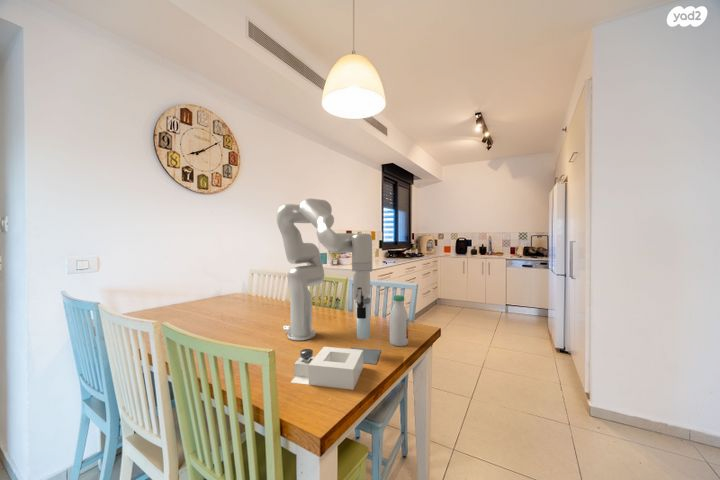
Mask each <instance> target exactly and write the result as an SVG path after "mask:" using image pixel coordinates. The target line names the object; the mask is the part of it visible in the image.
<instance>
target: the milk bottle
mask: <svg viewBox="0 0 720 480" xmlns="http://www.w3.org/2000/svg"><path fill="white" fill-rule="evenodd" d="M392 302H393V305H392V309H391V310H390V313H389V343H390V345H391V346H393V347H405V346H407V345H408V344H409V315H408V312H407V309H406V307H405V296H403V295H398V294H397V295H393V297H392Z"/></svg>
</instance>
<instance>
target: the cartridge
mask: <svg viewBox="0 0 720 480" xmlns="http://www.w3.org/2000/svg"><path fill="white" fill-rule="evenodd" d="M361 299H364V297H361ZM354 300H355V304H356V305H355V308H356V311H355V313H356V338H357V339H359V340H368V339H370V338H371V306H370V305H371V301H372V300H371V298H370V297H369V296H368V297H367V298H366V299H365V307H366V318H365V319H360V318H357V298H356V299H354ZM361 301H362V300H361ZM362 302H363V301H362Z"/></svg>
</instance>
